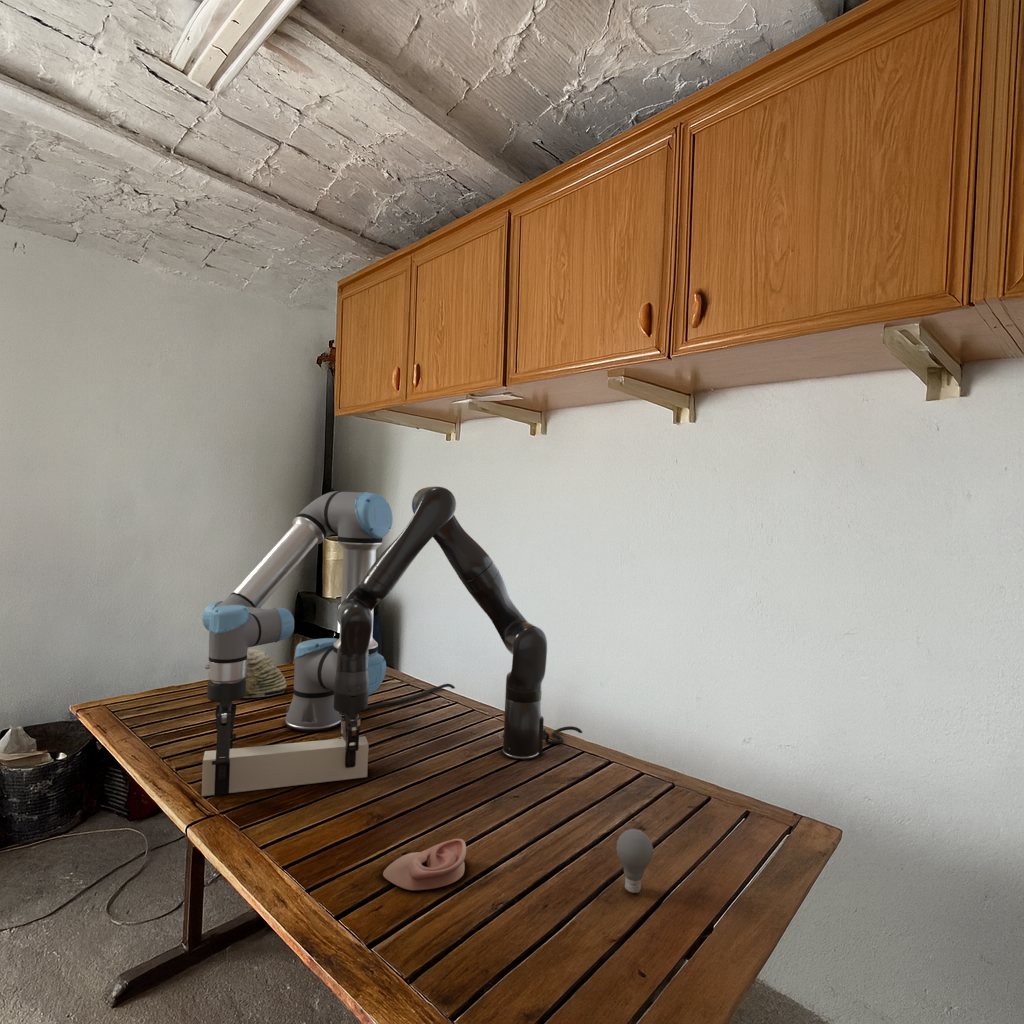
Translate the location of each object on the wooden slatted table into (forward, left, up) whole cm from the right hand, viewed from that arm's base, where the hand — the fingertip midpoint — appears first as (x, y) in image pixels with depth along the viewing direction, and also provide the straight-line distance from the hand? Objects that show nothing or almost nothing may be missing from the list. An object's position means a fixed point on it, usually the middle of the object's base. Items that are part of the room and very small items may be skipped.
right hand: (348, 761), depth 145 cm
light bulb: (-33, +61, -3) cm, 70 cm away
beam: (+13, -1, -3) cm, 13 cm away
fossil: (+14, -67, -3) cm, 69 cm away
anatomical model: (-3, +43, -3) cm, 43 cm away
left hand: (+26, -3, -1) cm, 26 cm away
